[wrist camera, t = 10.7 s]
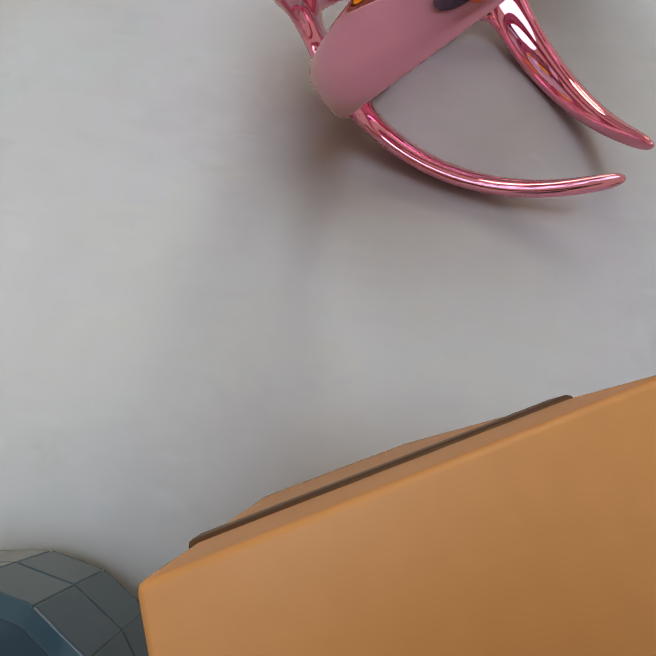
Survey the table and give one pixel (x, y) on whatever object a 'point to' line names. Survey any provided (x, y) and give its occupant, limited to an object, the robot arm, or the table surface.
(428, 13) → the pink openwork ball
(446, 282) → the table surface
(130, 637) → the bowl
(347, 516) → the case
